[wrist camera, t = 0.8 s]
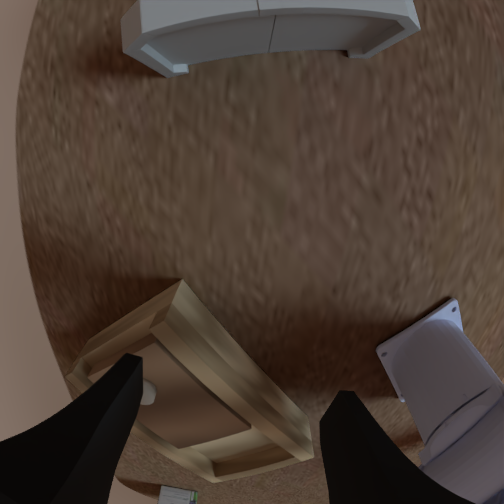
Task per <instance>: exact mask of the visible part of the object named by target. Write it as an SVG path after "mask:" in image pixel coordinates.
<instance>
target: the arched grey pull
mask: <svg viewBox="0 0 504 504" xmlns="http://www.w3.org/2000/svg"><path fill="white" fill-rule="evenodd" d="M419 30H420V25H419V21H418V17H417V14H416V10H415V7H414V4H413V0H137V1H136V2H135V3H134V4H133V6H132V7H131V8H130V9H129V10H128V11H127V12H126V14H125V15H124V16H123V17H122V18H121V34H122V48H123V53H125V54H127V55H129V56H131V57H132V58H134V59H136V60H138V61H139V62H141V63H143V64H145V65H146V66H148V67H150V68H151V69H153V70H155V71H157V72H158V73H160V74H161V75H163V76H165V77H166V78H169V77H173V76H178V75H182V74H186V73H188V72H189V71H188V65H191V64H196V63H201V62H206V61H211V60H217V59H223V58H229V57H236V56H243V55H251V54H260V53H268V51H269V53H270V52H282V51H299V50H347V53H348V57H349V58H370V57H371V56H373V55H375V54H377V53H378V52H380V51H382V50H384V49H385V48H387V47H389V46H391V45H393V44H394V43H396V42H398V41H400V40H402V39H404V38H406V37H408V36H409V35H411V34H413V33H415V32H417V31H419Z"/></svg>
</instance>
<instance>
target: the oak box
mask: <svg viewBox="0 0 504 504" xmlns="http://www.w3.org/2000/svg"><path fill="white" fill-rule="evenodd" d="M150 333H152V334H153V335H154V336H155V337H156V338H157V339H158V340H159V341H160V342H161V343H162V344H163V345H164V346H165V347H166V348H167V349H168V350H169V351H170V352H171V353H172V354H173V355H174V356H175V357H176V358H177V359H178V360H179V361H180V362H181V363H182V364H183V365H184V366H185V367H186V368H187V369H188V370H189V371H190V372H192V373H193V374H194V375H195V376H196V377H197V378H198V379H199V380H200V381H201V382H202V383H203V384H204V385H206V386H207V387H208V388H209V389H210V390H211V391H212V392H213V393H215V394H216V395H217V396H218V397H219V398H220V399H221V400H223V401H224V402H225V403H226V404H227V405H228V406H230V407H231V408H232V409H233V410H234V411H236V412H237V413H238V414H239V415H240V416H242V417H243V418H244V419H245V420H247V421H248V422H249V423H250V424H251V429H250V430H247V431H244V432H240V433H237V434H234V435H231V436H227V437H224V438H220V439H217V440H213V441H210V442H206V443H202V444H198V445H194V446H190V447H185V448H181V449H177V448H176V447H174V446H173V445H171V444H170V443H168V442H167V441H165V440H164V439H163V438H161V437H160V436H158V435H157V434H155V433H154V432H153V431H151V430H150V429H149V428H147V427H146V426H144V425H143V424H142V423H140V422H139V421H138V420H136V419H135V422H134V424H133V427H132V429H131V433H132V434H133V435H135V436H136V437H138V438H139V439H141V440H142V441H143V442H145V443H146V444H148V445H149V446H151V447H152V448H154V449H155V450H157V451H158V452H160V453H162V454H163V455H165V456H166V457H168V458H170V459H171V460H173V461H175V462H176V463H178V464H180V465H181V466H183V467H185V468H186V469H188V470H190V471H192V472H194V473H195V474H197V475H199V476H201V477H203V478H205V479H207V480H209V481H210V482H212V483H216V482H221V481H227V480H232V479H237V478H242V477H246V476H251V475H255V474H259V473H263V472H267V471H271V470H275V469H278V468H282V467H285V466H289V465H292V464H295V463H298V462H301V461H305V460H308V459H311V458H313V457H314V452H313V446H312V440H311V433H310V427H309V421H308V416H307V415H306V414H305V413H304V412H303V411H301V410H300V409H299V408H298V407H297V406H296V405H295V404H294V403H293V402H292V401H291V400H290V399H289V397H288V396H287V395H286V394H285V393H284V392H283V391H282V390H281V389H280V388H279V387H278V386H277V385H276V384H275V383H274V382H273V381H272V380H271V379H270V378H269V377H268V376H267V375H266V374H265V373H264V372H263V371H262V369H261V368H260V367H259V366H258V365H257V364H256V363H255V362H254V361H253V360H252V359H251V358H250V357H249V355H248V354H247V353H246V352H245V351H244V350H243V349H242V348H241V347H240V346H239V344H238V343H237V342H236V341H235V340H234V339H233V338H232V337H231V336H230V334H229V333H228V332H227V331H226V330H225V329H224V328H223V326H222V325H221V324H220V323H219V322H218V321H217V320H216V318H215V317H214V316H213V315H212V314H211V313H210V311H209V310H208V309H207V308H206V307H205V306H204V304H203V303H202V302H201V301H200V300H199V299H198V297H197V296H196V295H195V294H194V293H193V291H192V290H191V289H190V288H189V287H188V285H187V284H186V283H185V282H184V280H183V279H181V280H180V281H178V282H177V283H175V284H174V285H172V286H170V287H169V288H167V289H166V290H164V291H163V292H161V293H160V294H158V295H156V296H155V297H153V298H152V299H150V300H149V301H147V302H145V303H144V304H142V305H141V306H139V307H138V308H136V309H135V310H133V311H132V312H130V313H128V314H127V315H125V316H124V317H122V318H121V319H119V320H118V321H116V322H115V323H113V324H111V325H110V326H108V327H107V328H105V329H104V330H102V331H101V332H99V333H98V334H96V335H95V336H93V337H92V338H90V339H89V340H88V341H87V343H86V344H85V346H84V347H83V349H82V350H81V352H80V353H79V355H78V356H77V358H76V360H75V361H74V363H73V364H72V366H71V367H70V369H69V371H68V372H67V374H66V375H65V378H66V379H67V380H68V381H69V382H70V383H71V384H73V385H74V386H75V387H76V388H77V389H78V390H79V391H80V392H81V393H82V394H83V393H84V392H85V391H86V390H87V389H89V388H90V387H91V386H92V385H93V384H94V383H92V382H91V381H90V380H89V379H88V378H87V377H88V375H89V373H90V371H91V370H92V368H93V366H94V364H96V363H98V362H100V361H101V360H103V359H105V358H107V357H109V356H111V355H112V354H114V353H116V352H118V351H120V350H121V349H123V348H125V347H127V346H129V345H131V344H132V343H134V342H136V341H138V340H140V339H141V338H143V337H145V336H147V335H148V334H150Z"/></svg>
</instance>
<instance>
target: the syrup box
mask: <svg viewBox="0 0 504 504" xmlns="http://www.w3.org/2000/svg"><path fill="white" fill-rule="evenodd" d="M196 502H197V492H196V491H191V490H185V489H179V488H174V487H168V486H163V485H161V490H160V494H159V499H158V503H157V504H196Z"/></svg>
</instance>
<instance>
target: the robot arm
mask: <svg viewBox="0 0 504 504" xmlns="http://www.w3.org/2000/svg"><path fill="white" fill-rule="evenodd" d="M376 353H377V355H378V357H379V359H380V361H381V363H382V364H383V366H384V368H385V370H386V372H387V374H388V376H389V378H390V380H391V383H392V385H393V387H394V389H395V391H396V393H397V395H398V397H399V399H400V401H401V402H406V404H407V406H408V408H409V411H410V413H411V415H412V417H413V420H414V422H415V424H416V426H417V429H418V431H419V433H420V436H421V438H422V440H423V443H424V445H425V448H424V449H423V450H422V451H421V452H419V457H420V460H421V462H422V464H421V465H420V466H419V467H417V466H416V465H415V464H414V463H413V462H411V461H410V460H409V459H408V458H407V457H406V456H405V455H404V454H403V453H402V452H401V450H400V449H399V448H398V447H397V446H396V445H395V444H394V443H393V441H392V440H391V439H390V438H389V437H388V435H387V434H386V433H385V432H384V431H383V429H382V428H381V427H380V425H379V424H378V423H377V421H376V420H375V419H374V418H373V416H372V415H371V414H370V412H369V411H368V410H367V408H366V407H365V405H364V404H363V403H362V401H361V400H360V399H359V398H358V396H357V395H356V394H355V392H354V391H341V390H339V392H338V394H337V395H336V397H335V398H334V400H333V402H332V403H331V405H330V406H329V408H328V409H327V411H326V412H325V414H324V415H323V417H322V418H321V420H320V445H321V451H322V457H323V463H324V468H325V474H326V479H327V485H328V491H329V503H330V504H504V384H503V383H502V382H501V380H500V379H499V378H498V376H497V375H496V374H495V372H494V371H493V370H492V368H491V367H490V366H489V364H488V363H487V362H486V360H485V359H484V358H483V357H482V355H481V354H480V353H479V351H478V350H477V349H476V348H475V346H474V345H473V344H472V343H471V342H470V340H469V339H468V338H467V337H466V335H465V334H464V333H463V328H462V322H461V317H460V311H459V306H458V302H457V300H456V299H455V298H452V299H450V300H448V301H447V302H446V303H444V304H443V305H441V306H440V307H439V308H437V309H436V310H434V311H433V312H431V313H430V314H428V315H427V316H425V317H424V318H422V319H421V320H419V321H418V322H416V323H415V324H413V325H411V326H410V327H408V328H407V329H405V330H404V331H402V332H400V333H399V334H397V335H395V336H394V337H392V338H390V339H389V340H387V341H385V342H384V343H382V344H380V345H379V346H378V347H377V348H376ZM383 353H384V354H383ZM142 396H143V357H140V356H137V355H133V354H130V353H125V354H124V355H123V356H122V357H121V358H120V359H119V360H118V361H117V362H116V363H115V364H114V365H113V366H112V367H111V368H110V369H109V370H108V371H107V372H106V373H105V374H104V375H103V376H102V377H101V378H100V379H98V380H97V381H96V382H95V383H94V384H93V385H92V386H91V387H90V388H89V389H87V390H86V391H85V392H84V393H83V394H81V395H80V396H79V397H78V398H76V399H75V400H74V401H73V402H71V403H70V404H69V405H67V406H66V407H65V408H63V409H62V410H60V411H59V412H58V413H56V414H54V415H53V416H51V417H50V418H48V419H47V420H45V421H43V422H41V423H40V424H38V425H36V426H34V427H33V428H30V429H29V430H27V431H25V432H22V433H20V434H18V435H15V436H13V437H11V438H8V439H6V440H4V441H1V442H0V504H107V503H108V498H109V493H110V489H111V485H112V481H113V477H114V473H115V470H116V467H117V464H118V461H119V458H120V456H121V454H122V451H123V449H124V446H125V444H126V441H127V439H128V436H129V434H130V432H131V429H132V427H133V424H134V422H135V419H136V417H137V414H138V410H139V407H140V403H141V400H142Z"/></svg>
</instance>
